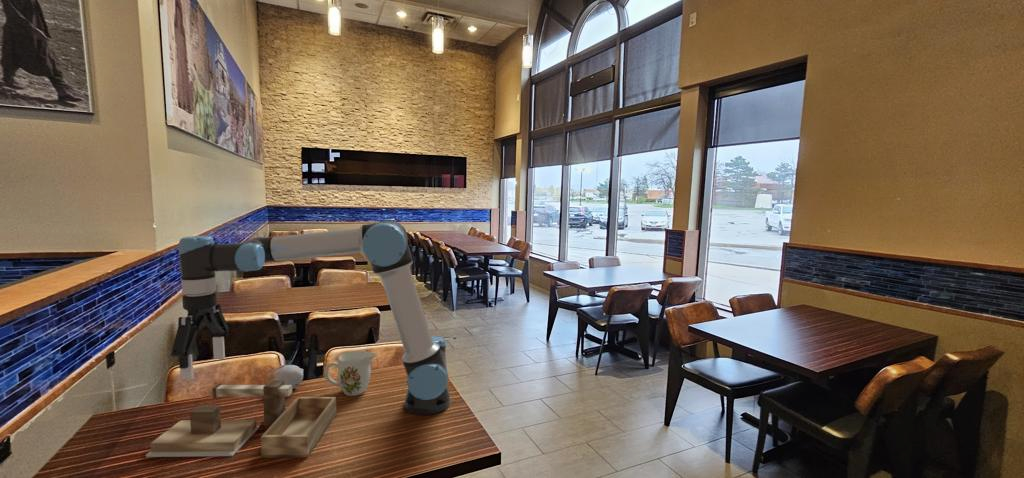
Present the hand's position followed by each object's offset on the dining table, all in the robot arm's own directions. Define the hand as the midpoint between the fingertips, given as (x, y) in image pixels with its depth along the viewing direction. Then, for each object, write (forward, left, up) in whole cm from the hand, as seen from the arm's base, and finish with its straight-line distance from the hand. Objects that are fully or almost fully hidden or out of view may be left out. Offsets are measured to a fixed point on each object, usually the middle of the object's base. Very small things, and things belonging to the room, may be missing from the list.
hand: (204, 368), depth 118 cm
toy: (-7, -33, -22) cm, 40 cm away
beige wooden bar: (-8, -10, -13) cm, 18 cm away
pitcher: (-31, -30, -22) cm, 48 cm away
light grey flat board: (0, 0, -21) cm, 21 cm away
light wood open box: (-21, -3, -21) cm, 30 cm away
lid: (0, 0, -21) cm, 21 cm away
